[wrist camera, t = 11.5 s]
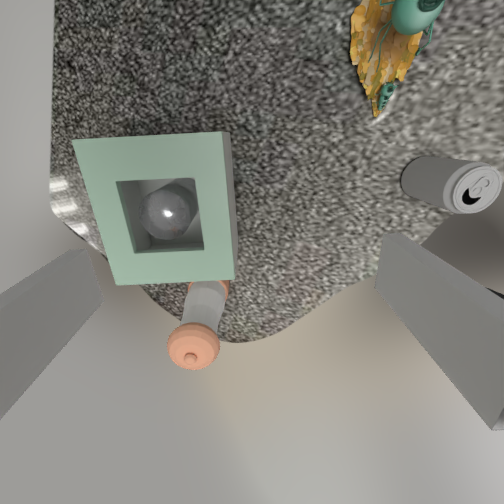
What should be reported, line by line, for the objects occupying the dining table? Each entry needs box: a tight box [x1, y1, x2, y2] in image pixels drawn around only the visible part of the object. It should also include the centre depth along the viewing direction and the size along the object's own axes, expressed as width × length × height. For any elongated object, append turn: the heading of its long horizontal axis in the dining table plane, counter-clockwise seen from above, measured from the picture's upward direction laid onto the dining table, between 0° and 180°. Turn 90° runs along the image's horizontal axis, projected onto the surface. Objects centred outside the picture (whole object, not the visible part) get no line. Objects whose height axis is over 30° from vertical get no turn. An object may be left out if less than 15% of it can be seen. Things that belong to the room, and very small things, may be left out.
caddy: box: [72, 131, 239, 285], centre depth 37 cm, size 18×16×13 cm
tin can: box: [139, 177, 199, 240], centre depth 37 cm, size 6×6×12 cm
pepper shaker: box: [167, 280, 229, 370], centre depth 41 cm, size 7×7×19 cm
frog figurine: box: [350, 0, 445, 117], centre depth 29 cm, size 10×18×15 cm, turn 172°
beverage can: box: [401, 156, 502, 214], centre depth 37 cm, size 6×6×12 cm
